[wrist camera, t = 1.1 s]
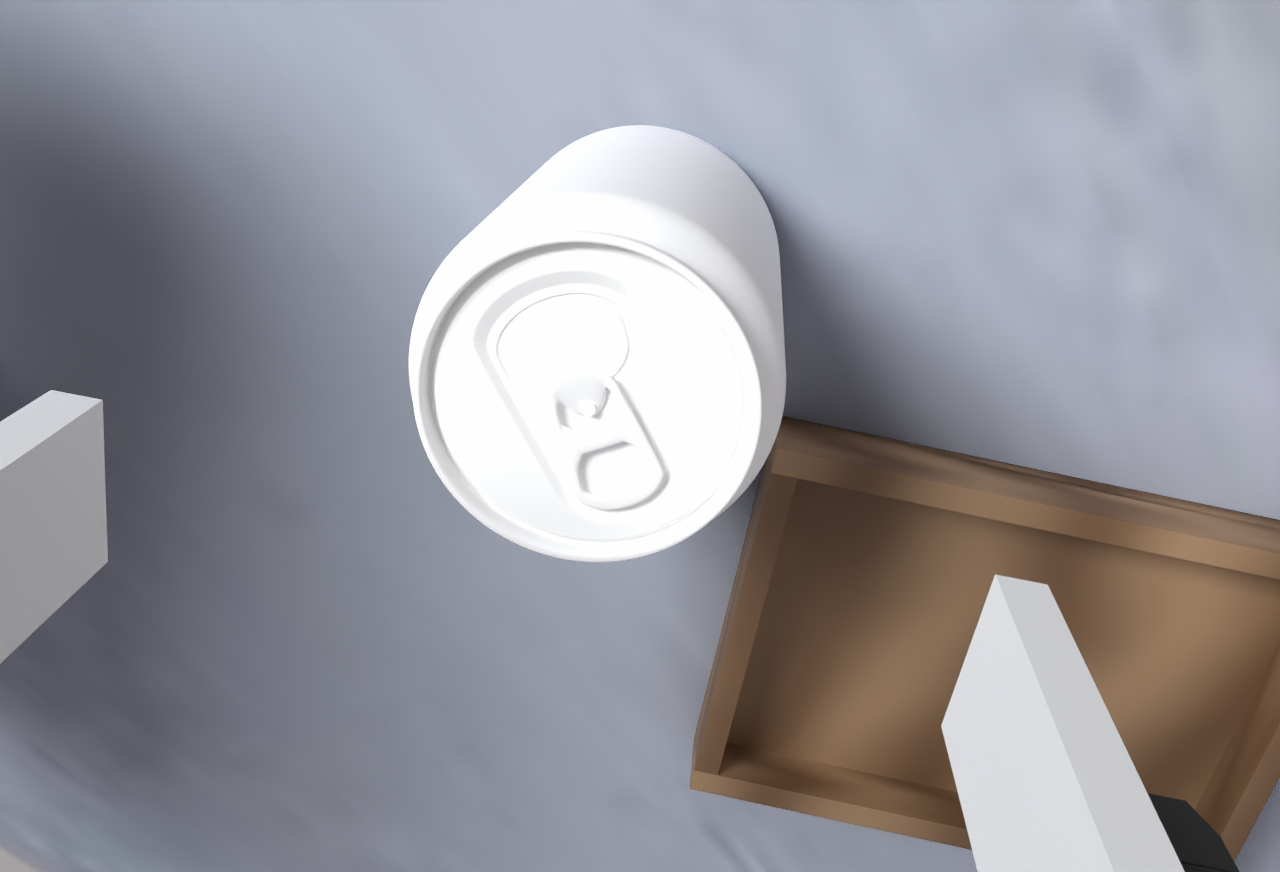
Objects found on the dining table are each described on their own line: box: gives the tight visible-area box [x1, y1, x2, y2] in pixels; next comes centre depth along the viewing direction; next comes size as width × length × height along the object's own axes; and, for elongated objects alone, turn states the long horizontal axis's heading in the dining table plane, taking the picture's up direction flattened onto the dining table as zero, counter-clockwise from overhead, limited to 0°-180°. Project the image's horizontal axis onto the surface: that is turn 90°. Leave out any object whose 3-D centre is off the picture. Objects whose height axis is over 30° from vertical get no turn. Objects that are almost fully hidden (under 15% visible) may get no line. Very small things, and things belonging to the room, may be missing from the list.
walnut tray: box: [690, 416, 1280, 861], centre depth 36 cm, size 18×13×3 cm
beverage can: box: [409, 125, 786, 562], centre depth 28 cm, size 8×8×12 cm
